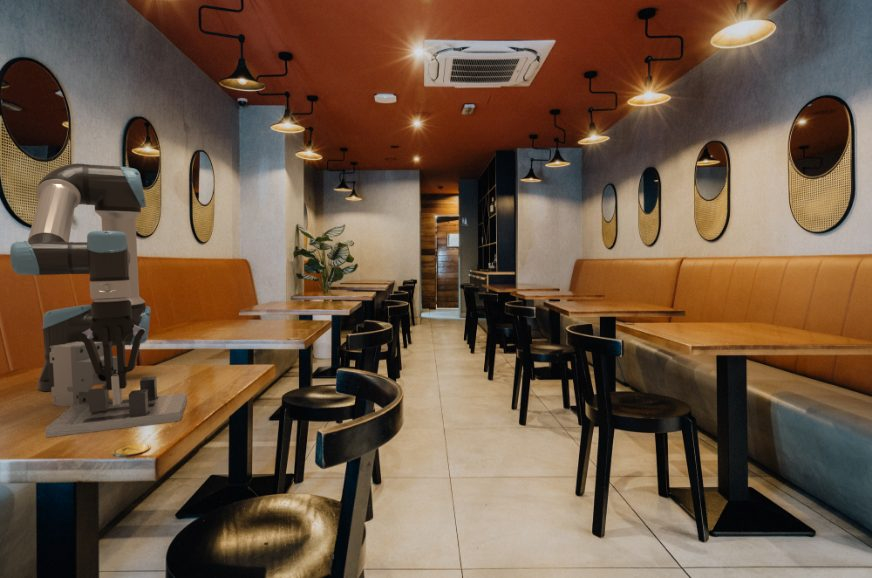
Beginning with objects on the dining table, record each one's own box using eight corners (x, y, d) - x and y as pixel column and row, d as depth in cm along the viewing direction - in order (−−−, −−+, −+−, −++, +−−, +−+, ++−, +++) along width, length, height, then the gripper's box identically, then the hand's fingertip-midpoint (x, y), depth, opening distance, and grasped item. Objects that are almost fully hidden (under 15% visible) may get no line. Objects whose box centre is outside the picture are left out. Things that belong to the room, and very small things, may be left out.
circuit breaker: (99, 407, 119) (96, 347, 118) (52, 405, 121) (49, 346, 121) (125, 399, 126) (122, 342, 125) (79, 397, 129) (76, 341, 128)
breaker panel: (72, 413, 114) (71, 384, 114) (186, 400, 123) (185, 373, 123) (46, 437, 98) (44, 403, 97) (179, 420, 107) (178, 389, 107)
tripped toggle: (93, 408, 110) (92, 384, 109) (109, 406, 111) (108, 383, 111) (89, 412, 106) (88, 388, 106) (105, 410, 107) (104, 386, 107)
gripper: (71, 302, 103) (78, 411, 104) (141, 299, 108) (147, 403, 109) (81, 300, 110) (88, 402, 111) (146, 297, 115) (152, 395, 116)
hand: (117, 403), depth 110 cm, fingers closed
